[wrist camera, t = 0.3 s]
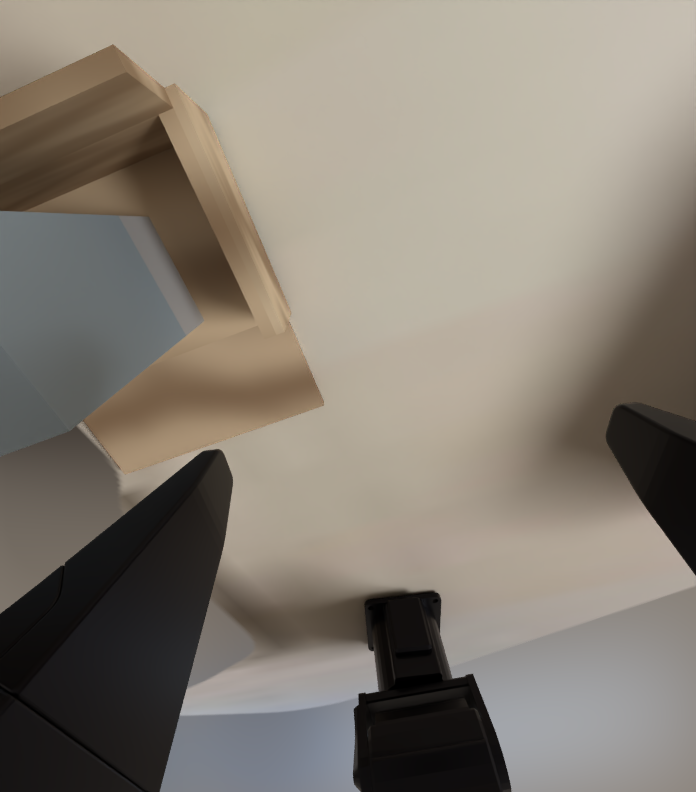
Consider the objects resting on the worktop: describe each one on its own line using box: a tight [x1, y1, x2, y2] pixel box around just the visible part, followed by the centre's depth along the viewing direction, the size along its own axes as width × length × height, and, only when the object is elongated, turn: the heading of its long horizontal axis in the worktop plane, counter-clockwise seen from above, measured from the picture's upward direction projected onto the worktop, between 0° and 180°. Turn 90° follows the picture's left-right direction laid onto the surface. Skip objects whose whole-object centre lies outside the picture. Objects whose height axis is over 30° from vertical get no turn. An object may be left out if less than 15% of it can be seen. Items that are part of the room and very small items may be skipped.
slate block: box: [0, 211, 204, 456], centre depth 14 cm, size 6×6×12 cm
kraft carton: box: [0, 45, 324, 474], centre depth 17 cm, size 16×15×8 cm
